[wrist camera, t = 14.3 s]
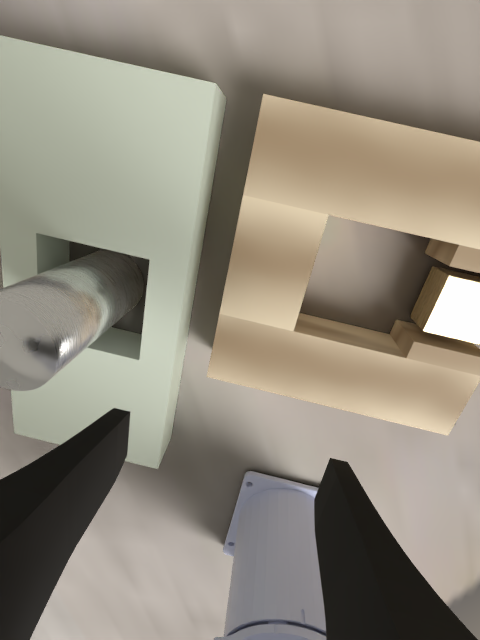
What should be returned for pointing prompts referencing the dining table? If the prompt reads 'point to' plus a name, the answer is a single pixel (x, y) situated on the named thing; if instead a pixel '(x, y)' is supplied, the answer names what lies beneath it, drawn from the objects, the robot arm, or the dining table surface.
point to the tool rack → (107, 221)
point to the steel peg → (62, 315)
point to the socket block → (301, 249)
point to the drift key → (449, 305)
